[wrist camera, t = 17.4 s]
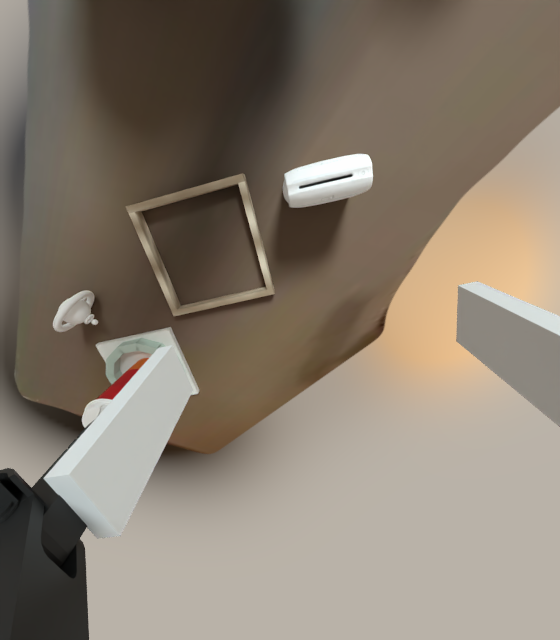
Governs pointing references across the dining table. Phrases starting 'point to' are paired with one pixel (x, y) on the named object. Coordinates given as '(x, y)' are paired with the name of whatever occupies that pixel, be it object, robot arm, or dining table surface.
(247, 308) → the dining table surface
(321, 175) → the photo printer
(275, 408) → the dining table surface
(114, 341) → the cup holder
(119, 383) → the paper cup
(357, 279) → the dining table surface
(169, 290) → the tray frame
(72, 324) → the ring around a ball
